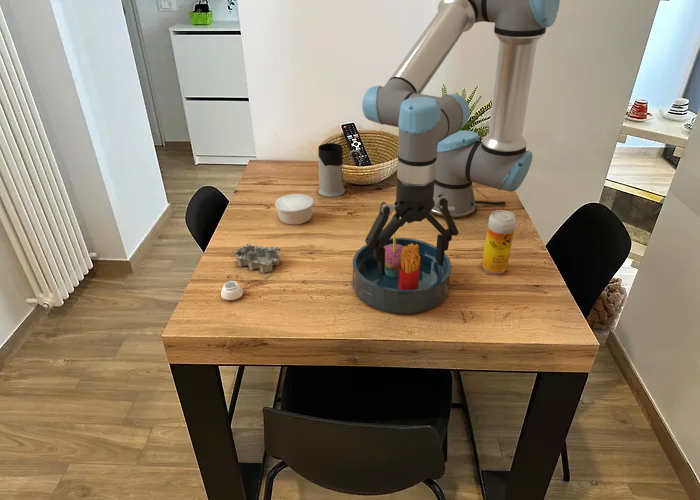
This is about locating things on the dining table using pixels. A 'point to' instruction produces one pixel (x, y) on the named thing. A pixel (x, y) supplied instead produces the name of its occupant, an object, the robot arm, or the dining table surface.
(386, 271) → the cupcake
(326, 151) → the glass holder
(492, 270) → the beer can
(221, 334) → the dining table surface
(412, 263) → the french fries
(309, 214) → the ramekin
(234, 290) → the lidless jar
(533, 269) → the dining table surface
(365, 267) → the bowl
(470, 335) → the dining table surface
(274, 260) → the egg carton
